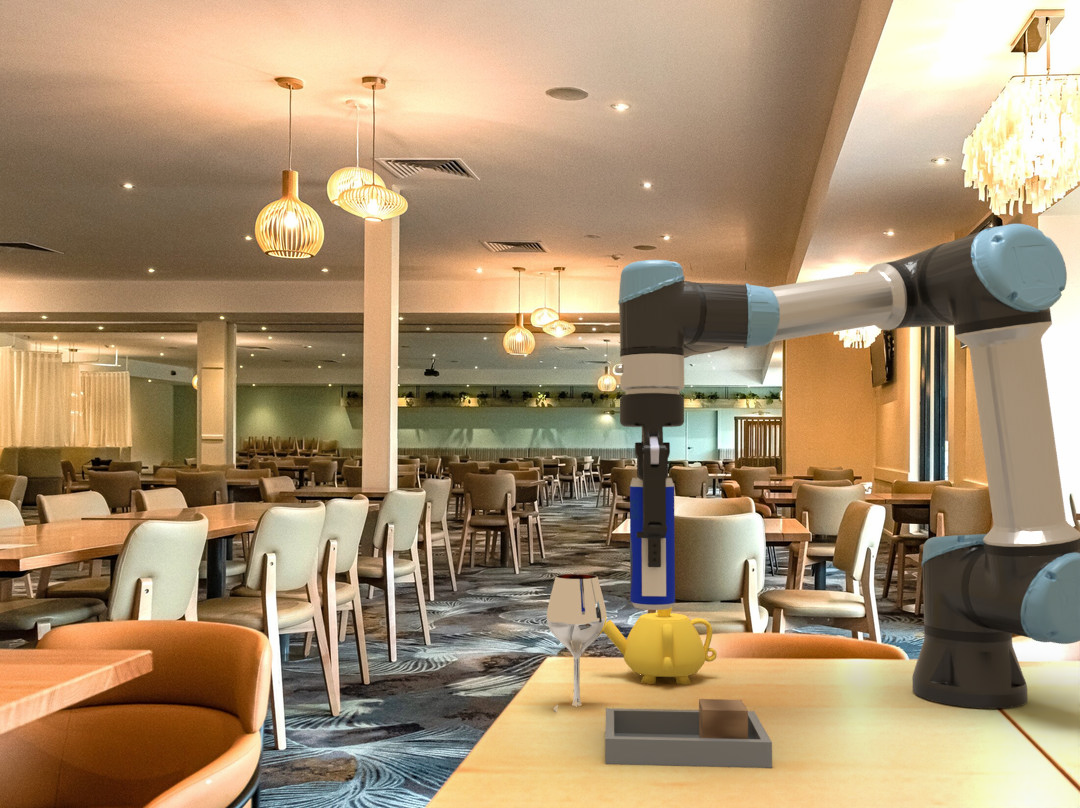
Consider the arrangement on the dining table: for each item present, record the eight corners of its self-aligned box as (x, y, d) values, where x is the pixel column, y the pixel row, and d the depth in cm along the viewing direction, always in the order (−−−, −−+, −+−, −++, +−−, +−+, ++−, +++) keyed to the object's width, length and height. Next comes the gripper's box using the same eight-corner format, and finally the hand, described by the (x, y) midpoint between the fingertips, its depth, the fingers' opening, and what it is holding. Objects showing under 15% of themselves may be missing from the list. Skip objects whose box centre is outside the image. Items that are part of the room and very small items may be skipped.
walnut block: (742, 742, 114) (741, 699, 115) (748, 756, 109) (747, 710, 110) (699, 742, 115) (698, 698, 115) (703, 754, 110) (702, 709, 110)
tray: (754, 740, 118) (754, 711, 118) (772, 775, 105) (771, 742, 105) (605, 737, 119) (605, 708, 120) (605, 771, 107) (605, 738, 107)
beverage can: (646, 602, 117) (645, 477, 118) (683, 606, 114) (682, 477, 115) (621, 607, 113) (621, 477, 114) (659, 611, 110) (658, 478, 111)
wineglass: (556, 720, 127) (556, 581, 128) (539, 704, 135) (539, 574, 136) (615, 715, 129) (615, 579, 130) (595, 700, 137) (595, 572, 138)
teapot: (658, 664, 162) (657, 596, 162) (725, 677, 152) (724, 605, 152) (597, 677, 152) (597, 605, 152) (665, 693, 142) (664, 616, 142)
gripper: (619, 397, 124) (619, 581, 123) (620, 387, 106) (621, 603, 105) (678, 397, 124) (679, 582, 122) (690, 387, 106) (691, 604, 104)
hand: (652, 591), depth 114 cm, fingers closed on beverage can, 5 cm apart
